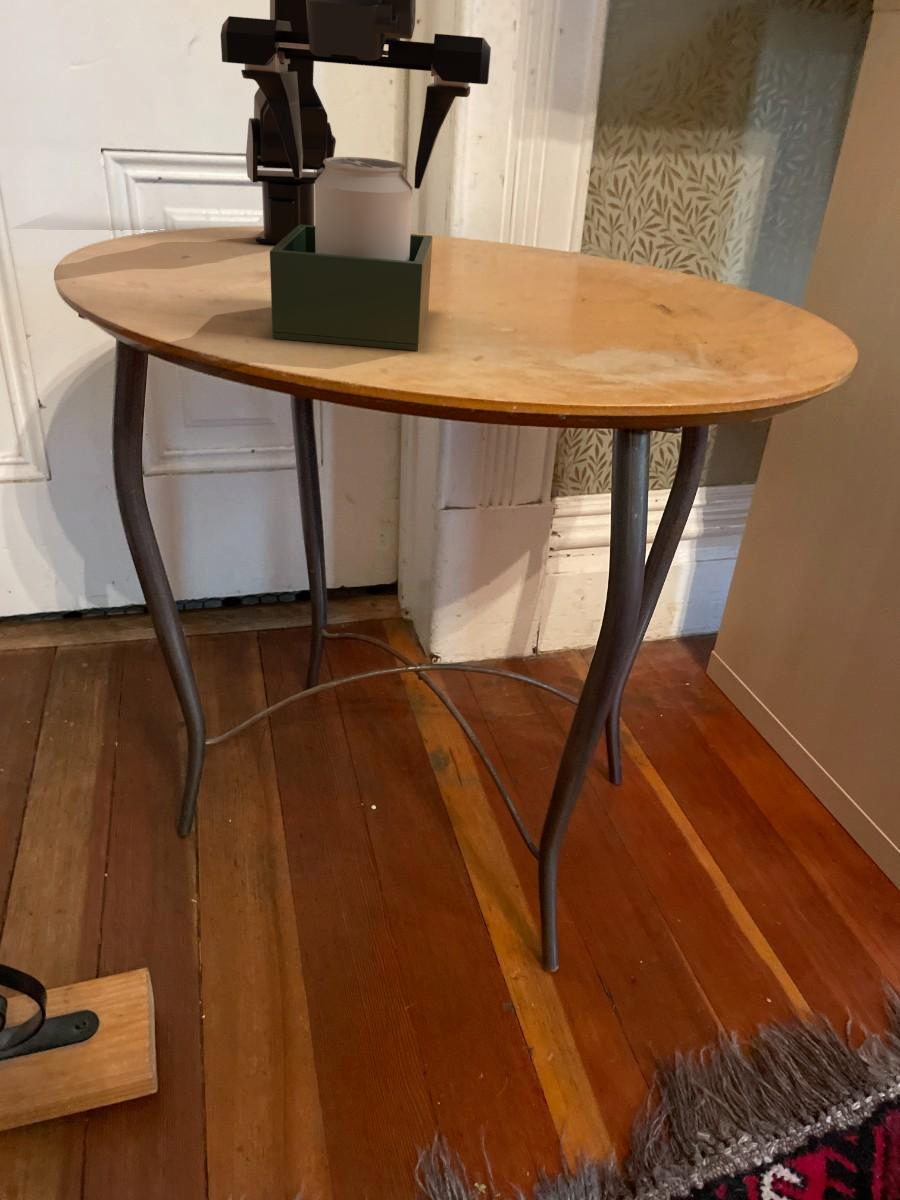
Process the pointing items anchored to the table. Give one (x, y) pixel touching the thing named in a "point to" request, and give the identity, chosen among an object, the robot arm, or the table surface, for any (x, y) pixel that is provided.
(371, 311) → the bin
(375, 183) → the can
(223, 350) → the table surface
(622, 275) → the table surface
